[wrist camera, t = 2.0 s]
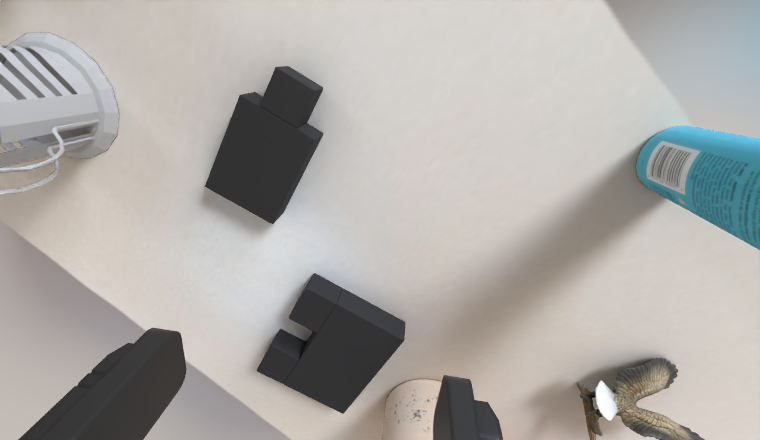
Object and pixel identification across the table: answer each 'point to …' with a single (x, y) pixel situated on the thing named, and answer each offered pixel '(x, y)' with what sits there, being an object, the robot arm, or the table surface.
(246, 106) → the small pad
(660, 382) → the eagle figurine
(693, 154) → the tube
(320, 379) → the large pad
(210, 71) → the table surface
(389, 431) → the teacup with lid
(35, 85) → the french press
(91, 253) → the table surface
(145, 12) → the table surface
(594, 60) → the table surface
